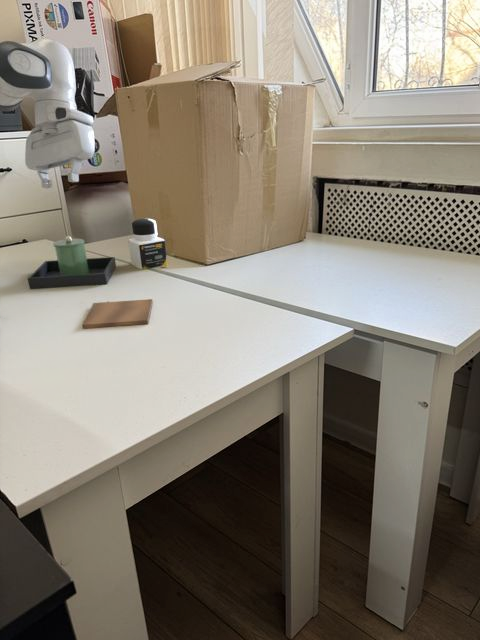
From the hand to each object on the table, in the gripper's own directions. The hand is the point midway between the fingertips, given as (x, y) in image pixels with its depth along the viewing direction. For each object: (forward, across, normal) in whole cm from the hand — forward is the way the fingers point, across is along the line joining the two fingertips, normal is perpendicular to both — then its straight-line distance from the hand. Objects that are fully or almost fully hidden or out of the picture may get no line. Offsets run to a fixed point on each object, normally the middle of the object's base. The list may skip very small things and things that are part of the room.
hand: (60, 184), depth 114 cm
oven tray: (+21, -4, +6) cm, 22 cm away
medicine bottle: (+17, +4, +23) cm, 29 cm away
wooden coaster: (+29, +23, -5) cm, 37 cm away
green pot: (+20, -4, +6) cm, 21 cm away
